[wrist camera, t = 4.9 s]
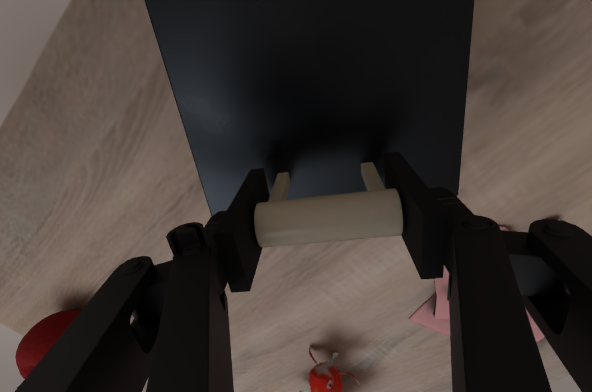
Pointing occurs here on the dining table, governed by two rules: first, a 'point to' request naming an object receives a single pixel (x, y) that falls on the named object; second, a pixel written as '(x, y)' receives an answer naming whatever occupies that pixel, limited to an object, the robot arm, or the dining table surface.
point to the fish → (325, 377)
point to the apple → (42, 339)
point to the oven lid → (318, 104)
